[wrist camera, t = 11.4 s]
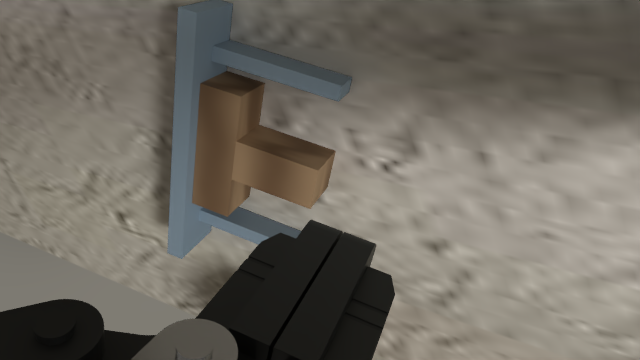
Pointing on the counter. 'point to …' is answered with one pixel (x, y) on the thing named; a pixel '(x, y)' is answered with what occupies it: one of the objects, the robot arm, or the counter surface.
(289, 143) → the walnut T block
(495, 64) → the counter surface
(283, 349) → the robot arm
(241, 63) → the frame
